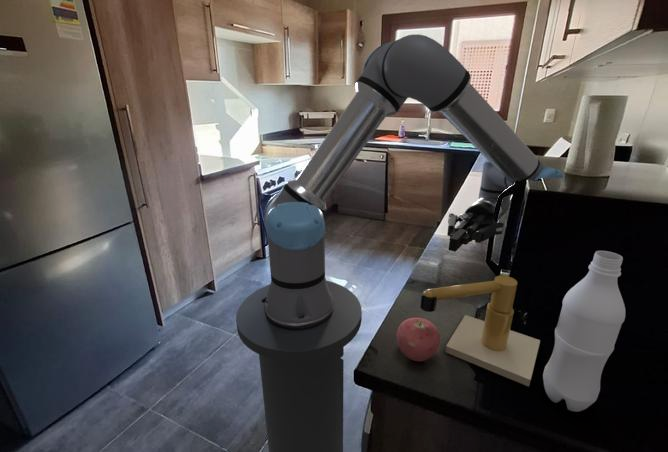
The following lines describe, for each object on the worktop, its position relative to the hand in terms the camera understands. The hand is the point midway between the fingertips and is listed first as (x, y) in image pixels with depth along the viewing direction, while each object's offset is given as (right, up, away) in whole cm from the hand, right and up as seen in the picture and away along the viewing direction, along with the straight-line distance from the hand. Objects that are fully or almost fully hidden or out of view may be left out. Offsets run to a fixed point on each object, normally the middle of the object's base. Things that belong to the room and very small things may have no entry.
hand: (452, 244), depth 70 cm
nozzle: (-1, -11, -10) cm, 15 cm away
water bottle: (+12, -24, -16) cm, 31 cm away
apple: (-9, -20, -7) cm, 23 cm away
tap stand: (+6, -20, -5) cm, 21 cm away
